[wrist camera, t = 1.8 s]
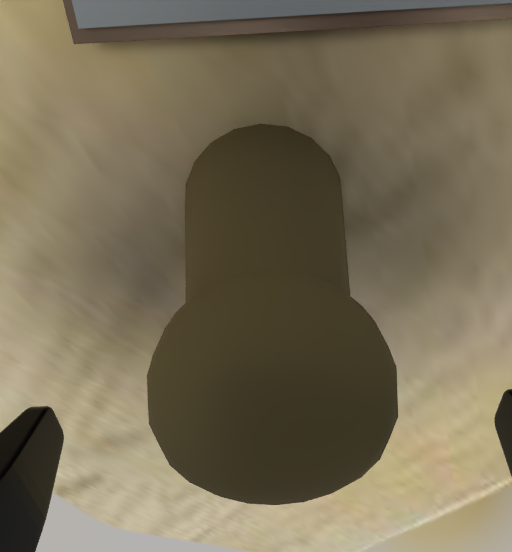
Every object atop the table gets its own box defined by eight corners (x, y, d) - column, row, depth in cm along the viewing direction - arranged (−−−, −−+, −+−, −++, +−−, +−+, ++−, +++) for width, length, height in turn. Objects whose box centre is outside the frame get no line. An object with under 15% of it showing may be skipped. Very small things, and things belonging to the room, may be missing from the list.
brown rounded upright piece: (202, 102, 15) (124, 299, 6) (367, 149, 16) (517, 382, 7) (172, 250, 18) (93, 523, 9) (311, 282, 19) (362, 559, 10)
